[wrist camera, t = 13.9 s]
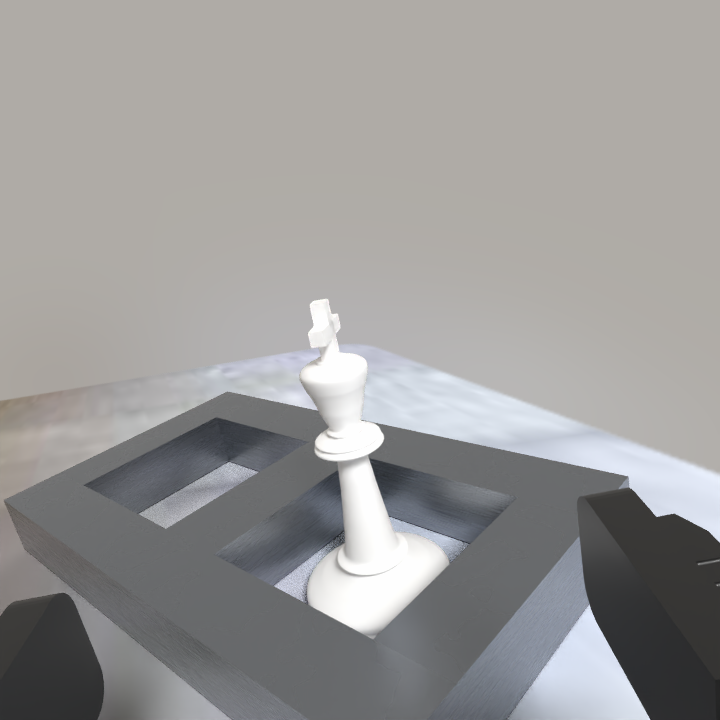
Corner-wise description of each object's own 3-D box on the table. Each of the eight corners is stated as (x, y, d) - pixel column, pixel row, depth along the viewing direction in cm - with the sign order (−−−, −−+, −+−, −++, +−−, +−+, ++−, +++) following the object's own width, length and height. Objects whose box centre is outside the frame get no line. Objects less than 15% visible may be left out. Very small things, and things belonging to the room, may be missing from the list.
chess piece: (289, 649, 19) (202, 340, 16) (329, 548, 24) (267, 291, 21) (450, 650, 18) (389, 316, 15) (461, 544, 23) (416, 269, 20)
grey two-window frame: (404, 861, 13) (382, 773, 12) (24, 548, 28) (3, 500, 27) (632, 542, 21) (628, 476, 20) (238, 431, 36) (227, 391, 35)
